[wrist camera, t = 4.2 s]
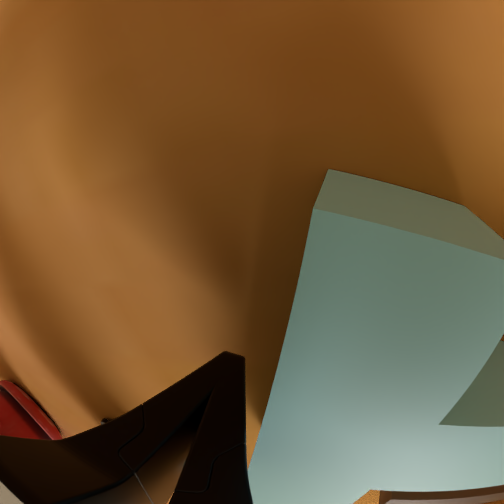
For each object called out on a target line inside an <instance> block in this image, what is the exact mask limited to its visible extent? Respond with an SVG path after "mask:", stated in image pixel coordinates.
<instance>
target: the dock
mask: <svg viewBox="0 0 504 504" xmlns="http://www.w3.org/2000/svg"><path fill="white" fill-rule="evenodd" d="M503 499H504V485H498V486H492V487H485V488H476V489H467V490H454V491H431V492H408V491H384V490H380V497H379V504H480V503H487V502H493V501H498V500H503Z"/></svg>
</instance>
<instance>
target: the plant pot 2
mask: <svg viewBox="0 0 504 504" xmlns="http://www.w3.org/2000/svg"><path fill="white" fill-rule="evenodd" d="M0 435H5V436H12V437H20V438H30V439H42V440H59V439H62V436H61V434H60V433H59V431H58V429H57V428H56V426H55V423H54V422H53V421H52V420H51V419H50V418H48V417H47V415H46V414H45V413H44V412H43V411H42V410H41V409H40V407H39V406H38V405H37V404H36V403H35V402H34V401H33V400H32V399H31V398H30V397H29V396H28V395H27V394H26V393H25V392H24V391H23V390H22V389H21V388H19V387H18V386H16V385H15V384H13V383H12V382H9V381H6V380H2V381H0Z"/></svg>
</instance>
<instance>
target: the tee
mask: <svg viewBox="0 0 504 504" xmlns="http://www.w3.org/2000/svg"><path fill="white" fill-rule="evenodd" d="M503 334H504V240H503V239H502V238H501V237H500V236H499V235H498V234H497V233H496V232H495V231H493V230H492V229H491V228H490V227H489V226H488V225H487V224H485V223H484V222H483V221H482V220H481V219H480V218H478V217H477V216H476V215H475V214H474V213H472V212H471V211H470V210H469V209H467V208H466V207H465V206H463V205H460V204H457V203H454V202H451V201H448V200H445V199H441V198H438V197H435V196H432V195H428V194H425V193H422V192H418V191H415V190H411V189H408V188H404V187H401V186H397V185H393V184H390V183H386V182H382V181H378V180H374V179H370V178H366V177H362V176H358V175H354V174H349V173H345V172H341V171H336V170H332V169H328V171H327V174H326V177H325V179H324V182H323V184H322V187H321V189H320V192H319V195H318V197H317V200H316V202H315V205H314V207H313V211H312V217H311V222H310V227H309V232H308V237H307V242H306V246H305V251H304V256H303V261H302V265H301V270H300V275H299V279H298V284H297V288H296V293H295V297H294V301H293V306H292V310H291V314H290V318H289V323H288V327H287V331H286V335H285V339H284V343H283V347H282V351H281V355H280V359H279V363H278V367H277V371H276V374H275V378H274V382H273V386H272V389H271V393H270V397H269V400H268V404H267V408H266V411H265V415H264V418H263V422H262V425H261V429H260V432H259V435H258V439H257V442H256V445H255V449H254V452H253V455H252V459H251V462H250V465H249V468H248V478H249V484H250V490H251V495H252V500H253V504H352V503H354V502H355V501H356V500H358V499H359V498H360V497H362V496H363V495H364V494H365V493H367V492H368V491H369V490H370V489H371V490H384V491H408V492H431V491H454V490H467V489H476V488H485V487H492V486H498V485H504V341H500V339H501V338H502V336H503Z"/></svg>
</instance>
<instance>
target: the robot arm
mask: <svg viewBox="0 0 504 504" xmlns="http://www.w3.org/2000/svg"><path fill="white" fill-rule="evenodd" d="M173 492H174V493H173ZM172 494H173V495H172ZM171 495H172V498H171V500H170V502H169V504H253V500H252V495H251V490H250V484H249V478H248V471H247V456H246V393H245V357H244V356H241V355H237V354H234V353H231V352H228V351H224V352H222V353H221V354H219V355H218V356H216V357H215V358H213V359H212V360H210V361H209V362H207V363H206V364H204V365H203V366H201V367H200V368H198V369H197V370H195V371H194V372H192V373H191V374H189V375H187V376H186V377H184V378H183V379H181V380H180V381H178V382H176V383H175V384H173V385H172V386H170V387H169V388H167V389H165V390H164V391H162V392H161V393H159V394H157V395H156V396H154V397H152V398H151V399H149V400H148V401H146V402H144V403H143V405H142V404H141V405H139V406H137V407H136V408H134V409H132V410H131V411H129V412H127V413H125V414H123V415H121V416H120V417H117V418H115V419H113V420H111V421H109V420H108V419H105V418H104V419H103V420H102V421H101V425H99V426H97V427H94V428H92V429H89V430H87V431H84V432H82V433H79V434H77V435H74V436H71V437H68V438H64V439H59V440H42V439H30V438H20V437H12V436H5V435H0V504H166V503H167V502H168V500H169V498H170V497H171Z"/></svg>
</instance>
